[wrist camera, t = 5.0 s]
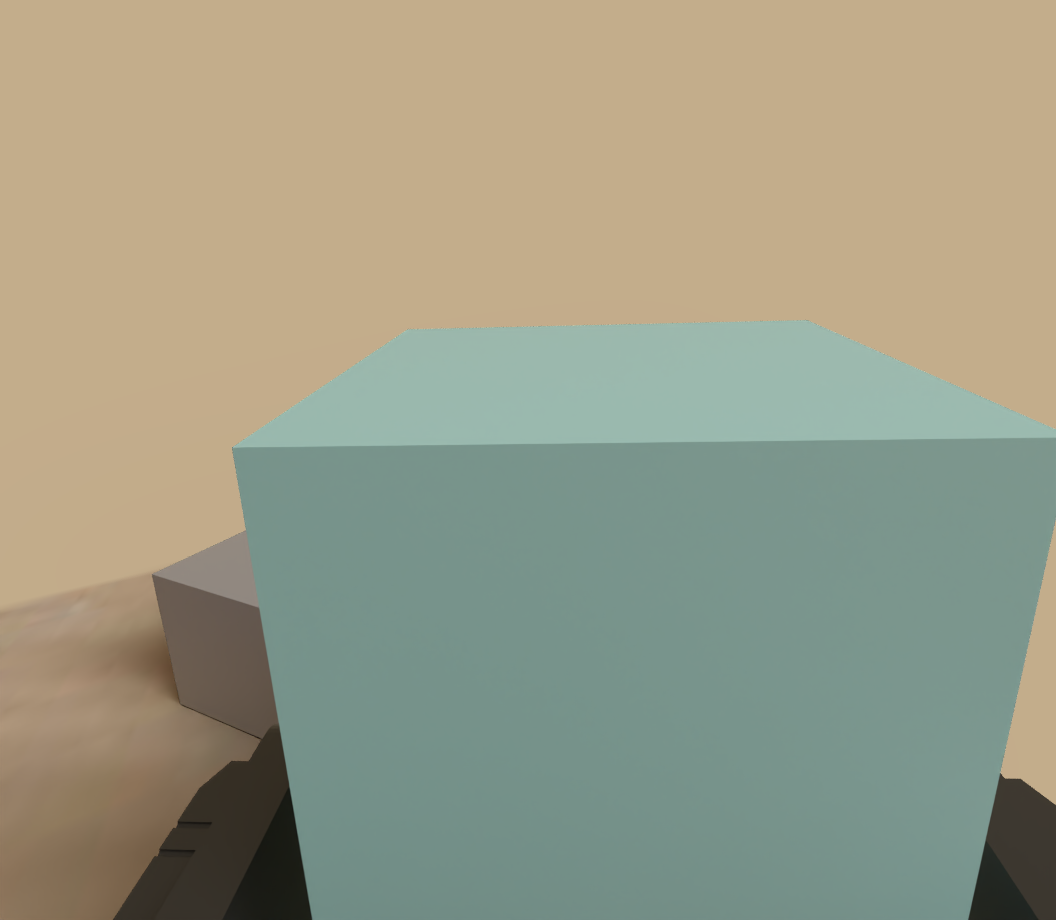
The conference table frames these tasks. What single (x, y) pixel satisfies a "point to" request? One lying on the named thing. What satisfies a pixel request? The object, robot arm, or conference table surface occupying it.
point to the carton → (645, 623)
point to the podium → (218, 636)
